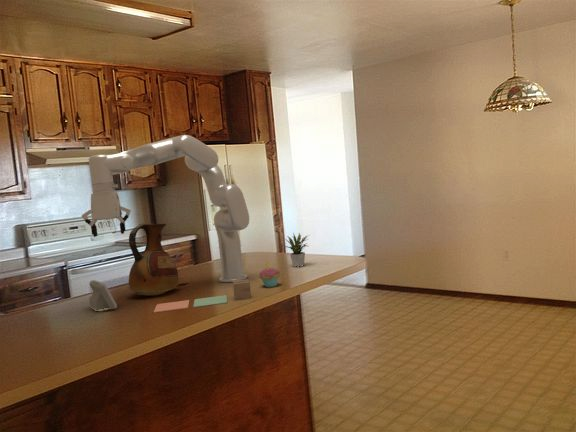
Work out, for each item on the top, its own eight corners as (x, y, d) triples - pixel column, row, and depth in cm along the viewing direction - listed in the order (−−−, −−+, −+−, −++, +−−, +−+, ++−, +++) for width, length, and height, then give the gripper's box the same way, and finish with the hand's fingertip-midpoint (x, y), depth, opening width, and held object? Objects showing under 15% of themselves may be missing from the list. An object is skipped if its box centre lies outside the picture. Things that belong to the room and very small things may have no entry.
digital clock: (118, 310, 194) (114, 282, 193) (92, 315, 190) (88, 286, 189) (113, 302, 209) (110, 276, 208) (89, 306, 205) (86, 280, 204)
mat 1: (157, 305, 196) (157, 304, 196) (189, 300, 197) (189, 300, 197) (153, 312, 184) (153, 312, 184) (187, 308, 185) (187, 307, 185)
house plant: (315, 267, 239) (311, 232, 238) (285, 270, 239) (281, 235, 238) (313, 262, 253) (310, 229, 252) (285, 265, 254) (282, 232, 252)
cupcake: (278, 287, 204) (275, 257, 203) (257, 288, 206) (254, 259, 205) (282, 282, 213) (280, 254, 212) (262, 284, 214) (259, 255, 214)
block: (234, 296, 197) (232, 281, 196) (250, 294, 197) (248, 279, 197) (235, 300, 191) (233, 284, 190) (251, 298, 191) (249, 282, 191)
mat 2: (194, 300, 197) (194, 299, 197) (226, 295, 199) (226, 295, 199) (193, 307, 186) (193, 306, 186) (227, 303, 187) (227, 302, 187)
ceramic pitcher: (189, 290, 217) (180, 219, 215) (147, 301, 203) (137, 225, 201) (162, 286, 231) (154, 219, 229) (121, 297, 216) (112, 226, 214)
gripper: (129, 186, 195) (134, 231, 196) (81, 191, 193) (87, 236, 194) (125, 186, 188) (131, 233, 189) (76, 191, 185) (82, 238, 187)
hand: (109, 234), depth 191 cm, fingers open, 9 cm apart
